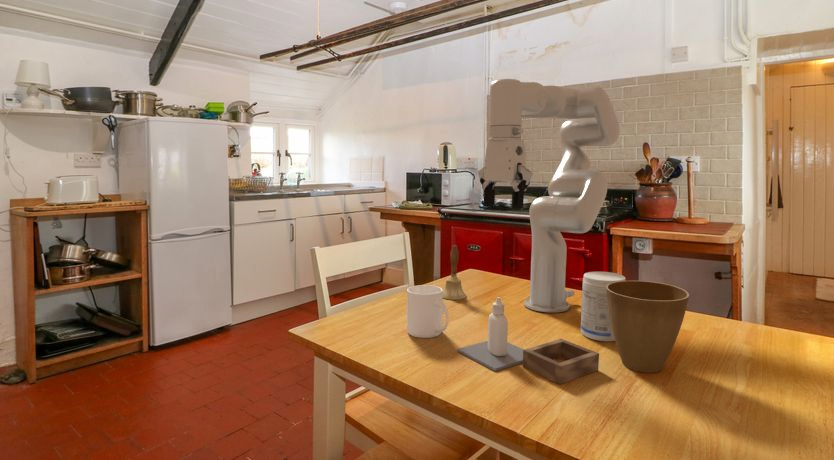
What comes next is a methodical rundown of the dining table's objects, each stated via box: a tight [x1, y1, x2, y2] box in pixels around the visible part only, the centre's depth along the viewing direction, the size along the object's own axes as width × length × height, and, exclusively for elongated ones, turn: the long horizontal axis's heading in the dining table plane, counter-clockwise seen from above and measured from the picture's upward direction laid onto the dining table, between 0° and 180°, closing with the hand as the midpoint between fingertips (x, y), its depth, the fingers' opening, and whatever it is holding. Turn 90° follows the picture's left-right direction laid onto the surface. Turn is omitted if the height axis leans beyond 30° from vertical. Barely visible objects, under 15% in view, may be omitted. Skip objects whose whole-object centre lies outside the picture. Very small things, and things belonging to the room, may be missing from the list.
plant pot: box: [606, 280, 690, 373], centre depth 96 cm, size 15×15×16 cm
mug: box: [406, 284, 449, 339], centre depth 113 cm, size 9×12×11 cm
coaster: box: [456, 340, 525, 372], centre depth 102 cm, size 12×12×1 cm
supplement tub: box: [580, 271, 627, 343], centre depth 113 cm, size 10×10×15 cm
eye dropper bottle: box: [487, 296, 509, 356], centre depth 101 cm, size 4×6×12 cm
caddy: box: [522, 338, 600, 385], centre depth 95 cm, size 11×9×4 cm
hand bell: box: [443, 244, 467, 301], centre depth 146 cm, size 8×8×16 cm
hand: (502, 206), depth 114 cm, fingers open, 9 cm apart
